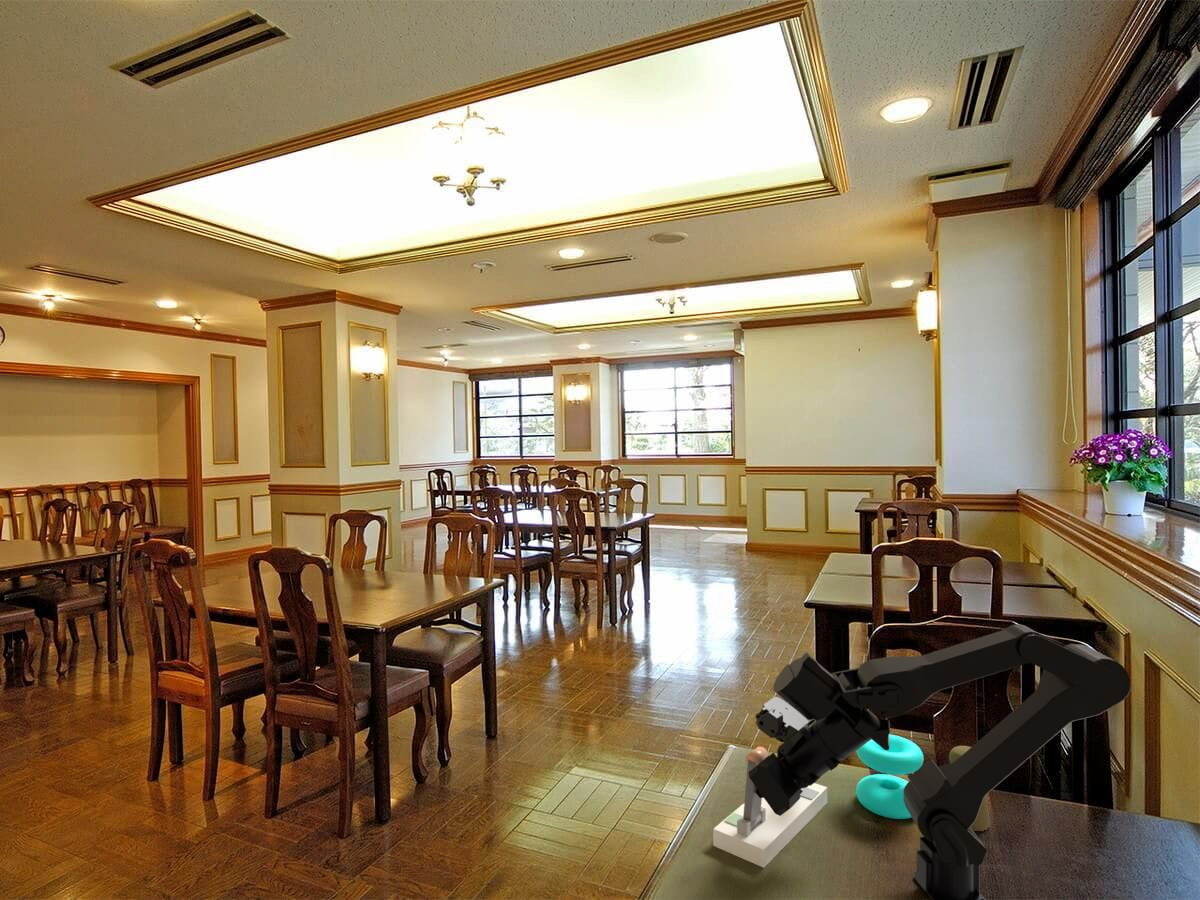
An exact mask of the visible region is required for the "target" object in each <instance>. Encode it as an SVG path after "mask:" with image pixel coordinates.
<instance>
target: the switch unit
mask: <svg viewBox="0 0 1200 900" xmlns="http://www.w3.org/2000/svg"><path fill="white" fill-rule="evenodd" d="M801 790H802V791H803V792H802V793H801V794H800V799H799V800H798V801H797V802H796V803H795V804H794V805H793V806H792V807H791V808H790V809H789V810H788V811H786V812H785V813H784V814H782V815H781V816H779V815H777V814H775V813H774V811H773V810H772V809H771V807H770V806H769V804H768V803H767V802H766V800H765V799H764V798H762V802H761V820H760V821H759V822H758V823H757V824H756V825H755V826H754V827H753V828H752V829H751V822H750V821H747V820H745V819H743V815H744V803H743V804H741V805H740V806H738V808H736V809H735V810H734V811H732V812H731V813H730V815H728V816H727V817H725V818H724V819H723V820H722V821H721V822H719V823H718V824H717V825H716V826H715V827H714V828H713V829H712V831H713V835H712V836H713V838H712V840H713V842H712V844H713V845H712V846H713V847H715V848H718V849H720V850H722V851H724V852H727V853H729V854H732V855H733V856H736V857H738V858H741V859H743V860H745V861H747V862H750V863H753V864H754V865H757V866H759V867H761V868H766V867H767V865H768V864H769V863H770V862H771V861H773V859H774V858H776V856H777V855H778V854H779V853H780V852H781V851H782V850H783V849H784V848H785V847H786V846H787V845H788V844H789V843H790V842H791V841H792V840H793V839H794V838H795V836H797V835H798V834H799V833H800V831H802V829H804V828H805V826H806V825H807V824H808V823H809V822H810V821H811V820H813V818H814V817H815V816H816V815H817V814H818V813H819V812H820V811H821V810H822V809H823V808H824V807H825V806H826V805H827V804H828V786H824V785H821V784H819V783H816V782H815V783H814V784H812V785H811V786H808V787H807V788H802V789H801Z"/></svg>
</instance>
